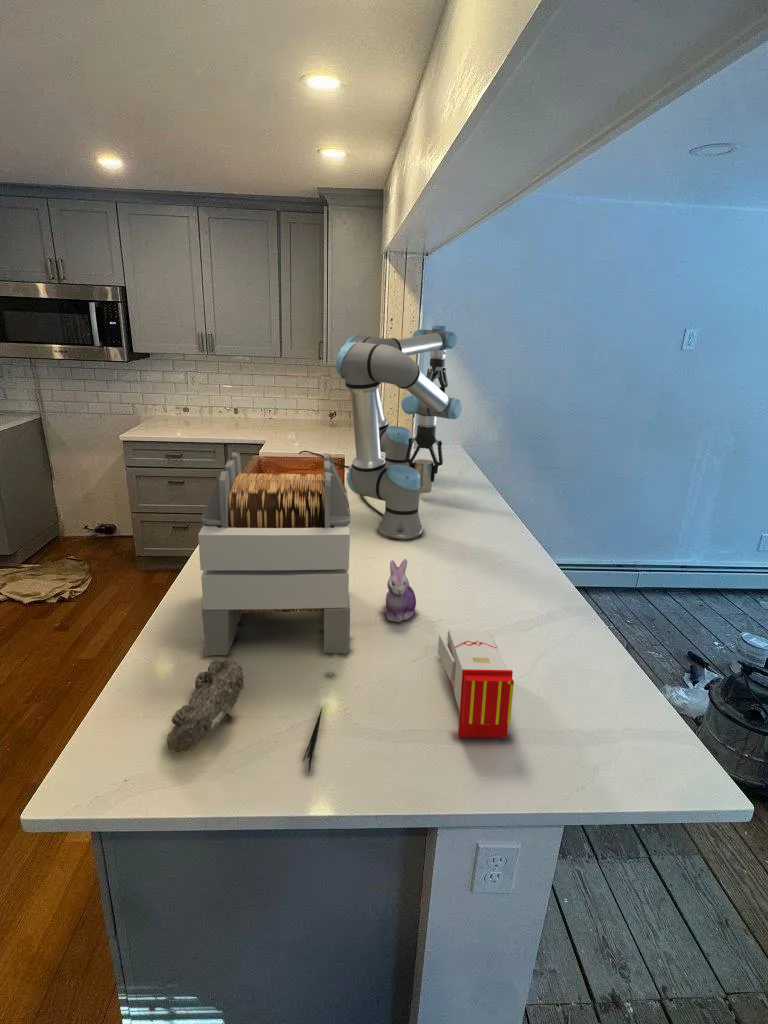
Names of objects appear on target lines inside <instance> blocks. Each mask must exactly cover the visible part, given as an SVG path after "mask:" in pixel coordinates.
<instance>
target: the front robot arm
mask: <svg viewBox="0 0 768 1024" xmlns="http://www.w3.org/2000/svg"><path fill="white" fill-rule="evenodd" d="M344 344H345V343H344ZM335 369H336V373H337V374H338V375H339V377H341V378H342V379H344V384H345V388H346V389H348V390H349V391H350V399H351V411H352V412H351V413H352V423H353V433H354V445H355V446H354V447H355V455H356V456H355V457H354V458H353V460H352V463H351V464H350V465H349V466H350V467H349V468H347V469H348V471H347V474H346V480H347V484H348V487H349V489H350V491H352V492H353V493H354V494H357V495H359V496H360V498H361V500H363V502H364V503H365V504H366V505H367V506H368V507H369V508H371V509H372V510H373V511H375V512H376V513H377V514H379V515H380V516H381V517H382V519H381V522H379V525H378V533H379V534H380V535H381V536H382V537H385V538H387V539H389V540H395V541H410V540H415V539H418V538H420V537H421V536H422V535H423V525H422V524H421V518H420V515H419V507H420V506H419V505H420V496H421V495H420V494H421V493H420V486H421V483H420V474H419V473H418V471H417V470H415V469H414V461H415V460H416V457H417V456H418V453H419V451H420V449H426V450H428V451H429V453H430V456H431V460H432V461H433V462H434V465H433V471H432V483H434V482H435V477H436V475H438V472H439V466H443V464H444V459H443V448H442V447H443V446H442V445H443V440H441V439H440V440H439V439H437V438H436V431H437V427H436V425H437V418H442V419H447V420H457V419H458V418H459V417H460V415H461V412H462V407H463V405H462V401H461V400H460V399H459V398H454V397H449V396H448V395H447V394H446V392H445V393H444V392H442V391H441V390H440V387H439V386H437V384H435V383H434V382H432V381H431V380H430V379H428V378H427V377H426V376H427V375H425V374H424V373H423V372H422V371H421V368H420V366H419V364H418V363H417V362H416V360H414V359H413V358H412V357H410V356H408V355H406V354H405V353H403V352H402V351H400V350H398V349H397V348H394V347H392V346H389V345H384V344H371V343H362V342H350V343H347V344H345V345H343V346H341V348H340V350H339V352H338V354H337V356H336V361H335ZM381 383H383V384H390V385H394V386H396V387H397V388H399V389H400V390H401V389H403V390H406V391H407V392H409V393H408V394H406V395H404V396H403V397H402V399H401V402H400V405H401V409H402V411H403V412H404V413H405V414H407V415H417V421H416V422H417V426H416V436H415V437H412V436H411V437H410V438H409V446H408V450H407V454H406V458H405V462H408V463H409V467H408V466H404V465H391V466H389V467H388V468H387V467H386V462H385V457H384V456H383V455H382V453H381V452H382V451H380V436H379V421H378V405H377V390H376V389H377V388H378V389H379V387H380V386H381ZM415 442H416V444H417V446H416V448H415V449H414V452H413V454H412V456H411V455H410V453H412V448H413V444H414V443H415ZM435 444H436V446H437V453H438V454H437V455H438V457H437V455H436V452H435V449H434V445H435ZM409 457H410V459H409ZM365 497H367V498H372V499H375V500H379V501H383V502H385V504H384V505H385V507H384V508H385V509H384V513H382V512H381V511H380V510H378V509H377V508H375V507H374V506H373V505H371V504H370V503H369V502H368V501H367V500H366V499H365Z"/></svg>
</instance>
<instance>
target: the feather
mask: <svg viewBox="0 0 768 1024" xmlns="http://www.w3.org/2000/svg"><path fill="white" fill-rule="evenodd" d="M329 675H330V676H331V675H332V674H331V673H330V674H329ZM322 710H323V707H321V708H320V710H319V713H318V716H317V719H316V723H315V725H314V728H313V731H312V733H311V737H310V739H309V742H308V745H307V748H306V751H305V754H304V757H303V760H302V763H301V767H302V765H303V763H304V761H305V758H308V759H309V760H308V762H307V763H308V764H307V766H308V771H310V770H311V766H312V765H311V764H312V760H313V757H315V756H314V755H315V751H316V749H315V746H317V739H318V733H319V729H320V722H321V717H322V712H323V711H322ZM313 754H314V755H313ZM306 755H307V757H306Z"/></svg>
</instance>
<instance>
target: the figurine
mask: <svg viewBox="0 0 768 1024" xmlns="http://www.w3.org/2000/svg"><path fill="white" fill-rule="evenodd" d="M407 567H408V559H406V558H404V559H403V560H402V561H401V563H400V565H399V566H398V565H397V563H396V562H395V561H394V560H393V559H391V560H390V561H389V570H390V576H389V578H388V579H387V589H388V591H387V592H386V594H385V595H386V596H385V607H384V615H385V616H386V620H387V621H391V622H395V623H400V622H402V621H406V620H409V619H410V618H411V617H413V616H414V615H415V610H416V606H417V597H416V593H415V591H414V590H413V587H411V586H410V582H409V579H408V577H407V574H406V571H407Z"/></svg>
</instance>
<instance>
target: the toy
mask: <svg viewBox="0 0 768 1024" xmlns="http://www.w3.org/2000/svg"><path fill="white" fill-rule="evenodd" d="M446 640H447V643H446V641H445V639H444V636H443V635H442V634H439V637H438V646H437V656H438V657H439V659H440V661H441V663H442V666H443V668H444V670H445V672H446V674H447V677H448V679H449V681H450V684H451V687H452V690H453V693H454V697H455V701H456V705H457V708H458V711H459V714H458V715H459V716H458V730H457V731H458V732H457V737H458V738H508V731H509V726H510V725H511V717H512V707H513V697H514V696H513V695H514V684H515V680H514V679H513V673H514V671H513V670H512V669H508V667H507V665H506V662H505V661H504V659H503V658H502V655H501V653H500V651H499V649H498V647H497V643H496V639H495V637H494V635H493V634H491V632H490V631H489V629H467V628H466V629H465V628H463V629H461V628H460V629H459V628H448V630H447V639H446Z"/></svg>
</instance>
